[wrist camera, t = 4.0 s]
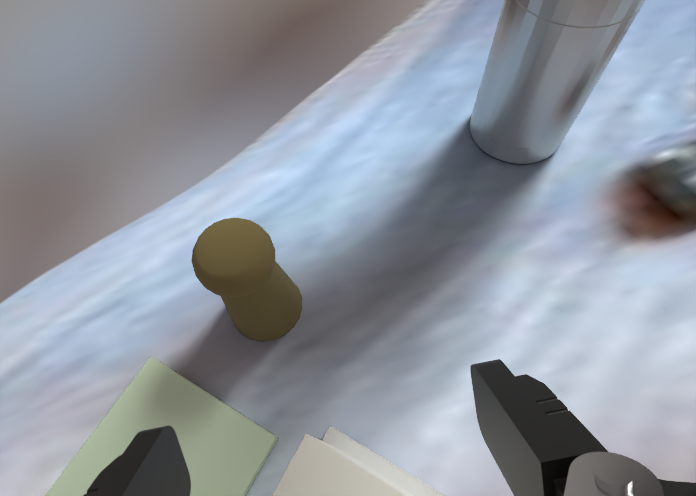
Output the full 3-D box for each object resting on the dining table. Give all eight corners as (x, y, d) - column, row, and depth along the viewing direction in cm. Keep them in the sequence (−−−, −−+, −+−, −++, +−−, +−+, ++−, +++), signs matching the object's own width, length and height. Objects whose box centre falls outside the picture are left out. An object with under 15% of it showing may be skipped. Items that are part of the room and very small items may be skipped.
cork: (298, 343, 33) (267, 292, 23) (225, 339, 33) (164, 288, 24) (306, 274, 36) (281, 204, 26) (238, 272, 36) (190, 201, 27)
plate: (155, 358, 33) (150, 356, 32) (278, 437, 30) (276, 437, 29) (40, 512, 28) (31, 513, 28) (171, 626, 25) (165, 630, 24)
